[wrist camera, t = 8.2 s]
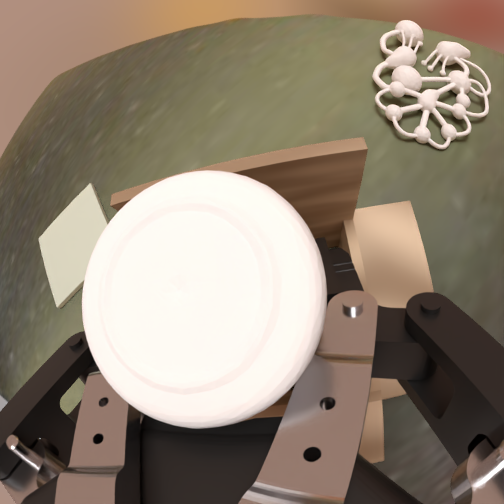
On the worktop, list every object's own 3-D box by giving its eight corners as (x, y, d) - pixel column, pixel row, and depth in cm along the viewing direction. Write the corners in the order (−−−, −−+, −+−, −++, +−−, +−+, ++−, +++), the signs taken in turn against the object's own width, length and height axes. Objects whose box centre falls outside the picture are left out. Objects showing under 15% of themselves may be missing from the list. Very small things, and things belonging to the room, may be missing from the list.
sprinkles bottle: (297, 378, 16) (239, 486, 3) (229, 345, 17) (45, 337, 5) (331, 308, 17) (374, 210, 4) (262, 277, 18) (145, 140, 5)
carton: (421, 423, 16) (501, 484, 5) (176, 446, 20) (76, 498, 8) (393, 229, 21) (445, 130, 10) (160, 269, 24) (57, 214, 13)
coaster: (60, 308, 26) (57, 307, 25) (41, 240, 29) (38, 238, 29) (121, 249, 26) (117, 247, 25) (93, 185, 29) (90, 182, 29)
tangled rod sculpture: (471, 186, 22) (491, 167, 18) (341, 116, 25) (345, 88, 21) (483, 78, 24) (494, 59, 20) (389, 30, 27) (393, 8, 23)
